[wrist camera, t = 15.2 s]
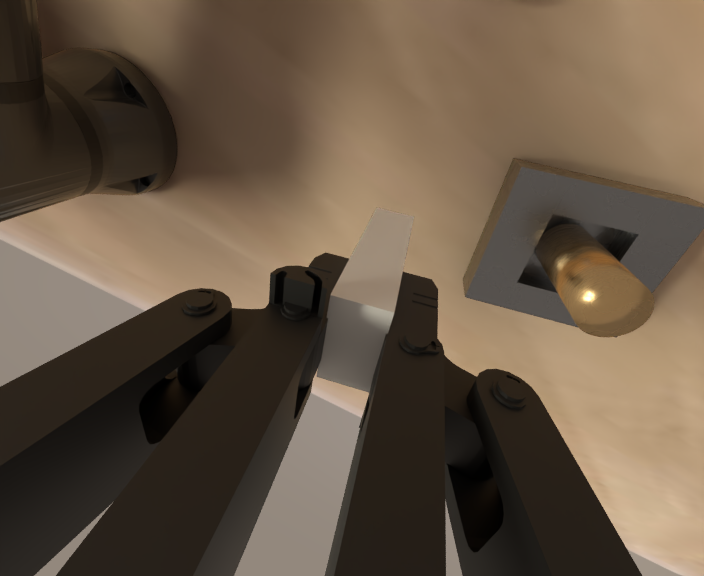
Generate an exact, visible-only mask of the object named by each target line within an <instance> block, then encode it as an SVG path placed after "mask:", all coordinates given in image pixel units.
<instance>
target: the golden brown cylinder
mask: <svg viewBox="0 0 704 576" xmlns="http://www.w3.org/2000/svg"><path fill="white" fill-rule="evenodd" d="M536 255H537V258H538V260H539V262H540V263H541V265H542V267H543V268H544V270H545V272H546V274H547V275H548V277H549V279H550V280H551V282H552V284H553V286H554V287H555V289H556V291H557V292H558V294H559V296H560V298H561V299H562V301H563V303H564V304H565V306H566V308H567V310H568V311H569V313H570V315H571V316H572V318H573V320H574V322H575V323H576V325H577V326H578V327H579V328H580V329H581V330H582V331H584V332H586V333H588V334H590V335H593V336H598V337H615V336H620V335H624V334H627V333H629V332H631V331H634V330H635V329H637V328H639V327H640V326H641V325H643V324H644V323H645V322H646V321H647V320H648V318H649V317H650V315H651V314H652V312H653V309H654V297H653V295H652V293H651V291H650V290H649V289H648V288H647V287H646V286H645V285H644V284H643V283H642V282H641V281H640V280H639V279H637V278H636V277H635V276H634V275H633V274H632V273H631V272H630V271H629V270H628V269H627V268H626V267H625V266H624V265H623V264H621V263H620V262H619V261H618V260H617V259H616V258H615V257H614V256H613V255H612V254H611V253H610V252H609V251H608V250H606V249H605V248H604V247H603V246H602V245H601V244H600V243H599V242H598V241H597V240H596V239H595V238H594V237H593V236H592V235H590V234H589V233H588V232H587V231H586V230H585V229H584V228H582V227H580V226H578V225H574V224H562V225H558V226H555V227H553V228H551V229H549V230H548V231H546V232H545V233H544V234H543V235H542V236H541V238H540V240H539V241H538V243H537V245H536Z"/></svg>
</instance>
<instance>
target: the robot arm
mask: <svg viewBox="0 0 704 576" xmlns="http://www.w3.org/2000/svg"><path fill="white" fill-rule="evenodd" d="M176 156H177V143H176V135H175V130H174V126H173V123H172V120H171V117H170V114H169V112H168V110H167V107H166V105H165V103H164V102H163V100H162V98H161V96H160V95H159V93H158V92H157V90H156V89H155V87H154V86H153V85H152V83H151V82H150V81H149V80H148V79H147V78H146V76H145V75H144V74H143V73H142V72H141V71H140V70H138V69H137V68H136V67H135V66H134V65H132V64H131V63H130V62H128V61H127V60H125V59H124V58H122V57H120V56H118V55H116V54H114V53H111V52H108V51H105V50H99V49H89V48H71V49H66V50H63V51H60V52H57V53H55V54H52V55H50V56H47V57H45V58H42V53H41V43H40V33H39V23H38V12H37V2H36V0H0V222H2V221H5V220H8V219H11V218H14V217H17V216H20V215H23V214H26V213H29V212H32V211H36V210H39V209H42V208H45V207H48V206H51V205H54V204H57V203H60V202H63V201H66V200H69V199H72V198H75V197H78V196H82V195H85V194H89V193H90V194H111V195H137V194H142V193H145V192H148V191H150V190H153V189H156V188H158V187H160V186H161V185H163V184H164V183H165V182H166V181H167V180H168V178H169V177H170V175H171V173H172V171H173V169H174V166H175V162H176ZM413 219H414V216H410V215H406V214H402V213H398V212H394V211H390V210H386V209H382V208H378V207H376V209H375V211H374V213H373V215H372V217H371V219H370V221H369V223H368V224H367V226H366V228H365V230H364V232H363V234H362V236H361V238H360V240H359V242H358V243H357V245H356V247H355V249H354V251H353V253H352V255H351V257H350V259H348V258H344V257H340V256H337V255H333V254H329V253H324V254H322V255H320V256H318V257H315V258H314V260H313V261H312V262H311V264H310V265H309V267H303V266H285V267H282V268H278V269H276V270H275V271H273V272H272V273H271V275H270V296H269V304H268V305H267V306H266V308H264V309H237V308H232V303H231V301H230V298H229V297H228V296H227V295H225V294H224V293H223V292H220V291H217V290H214V289H203V288H200V289H193V290H188V291H185V292H182V293H180V294H177V295H175V296H173V297H172V298H170V299H168V300H166V301H164V302H162V303H160V304H158V305H156V306H154V307H152V308H150V309H149V310H147V311H145V312H143V313H141V314H139V315H137V316H135V317H133V318H131V319H129V320H127V321H126V322H124V323H122V324H120V325H118V326H116V327H114V328H112V329H110V330H108V331H106V332H104V333H103V334H101V335H99V336H97V337H95V338H93V339H91V340H89V341H87V342H85V343H84V344H81V345H80V346H78V347H76V348H74V349H72V350H70V351H68V352H66V353H64V354H63V355H60V356H59V357H57V358H55V359H53V360H51V361H49V362H47V363H45V364H43V365H41V366H39V367H38V368H36V369H34V370H32V371H30V372H28V373H26V374H24V375H22V376H20V377H18V378H16V379H15V380H12V381H11V382H9V383H7V384H5V385H3V386H1V387H0V576H34V575H35V574H36V573H37V572H38V571H39V570H40V569H41V568H42V567H43V566H45V565H46V564H47V563H48V562H49V561H50V560H51V559H52V558H53V557H54V556H55V555H56V554H58V553H59V552H60V551H61V550H62V549H63V548H64V547H65V546H66V545H67V544H68V543H69V542H71V540H73V539H74V538H75V537H76V536H77V535H78V534H79V533H80V532H81V531H82V530H83V529H84V528H85V527H86V526H88V525H89V524H90V523H91V522H92V521H93V520H94V519H95V518H96V517H97V516H99V514H100V513H102V512H103V511H104V510H105V509H106V508H107V507H108V506H109V505H110V504H111V503H112V502H113V504H112V505H111V506H110V507H109V508H108V510H107V511H106V512H105V514H104V515H103V516H102V517H101V519H100V520H99V521H98V523H97V524H96V525H95V526H94V528H93V529H92V530H91V531H90V533H89V534H88V535H87V537H86V538H85V539H84V540H83V542H82V543H81V544H80V545H79V547H78V548H77V549H76V551H75V552H74V553H73V554H72V556H71V557H70V558H69V560H68V561H67V562H66V564H65V565H64V566H63V567H62V568H61V570H60V571H59V572H58V574H57V575H56V576H234V574H235V571H236V569H237V567H238V564H239V562H240V559H241V557H242V555H243V552H244V550H245V548H246V545H247V543H248V541H249V538H250V536H251V533H252V531H253V528H254V526H255V524H256V522H257V519H258V516H259V514H260V512H261V509H262V507H263V505H264V502H265V500H266V498H267V495H268V493H269V490H270V488H271V486H272V483H273V481H274V479H275V476H276V474H277V472H278V469H279V467H280V464H281V462H282V459H283V457H284V455H285V452H286V450H287V448H288V445H289V442H290V441H291V438H292V436H293V433H294V431H295V429H296V426H297V424H298V421H299V419H300V417H301V414H302V412H303V410H304V407H305V405H306V402H307V400H308V398H309V395H310V393H311V387H312V381H313V378H314V375H315V373H316V371H317V369H318V371H317V377H320V378H323V379H326V380H330V381H333V382H336V383H340V384H343V385H346V386H349V387H353V388H356V389H359V390H363V391H366V392H369V396H368V400H367V403H366V406H365V410H364V413H363V416H362V419H361V423H360V426H359V427H360V431H359V435H358V439H357V443H356V447H355V452H354V456H353V460H352V464H351V468H350V473H349V477H348V481H347V485H346V489H345V493H344V497H343V502H342V506H341V510H340V514H339V518H338V522H337V527H336V531H335V535H334V539H333V543H332V548H331V552H330V556H329V560H328V564H327V568H326V573H325V576H446V546H445V545H446V540H445V538H446V537H445V536H446V535H445V499H446V503H447V508H448V513H449V517H450V522H451V525H452V530H453V535H454V539H455V544H456V548H457V553H458V557H459V562H460V566H461V570H462V575H463V576H642V574H641V573H640V571H639V569H638V568H637V566H636V564H635V562H634V561H633V559H632V557H631V556H630V554H629V552H628V550H627V549H626V547H625V545H624V543H623V542H622V540H621V538H620V536H619V535H618V533H617V531H616V529H615V528H614V526H613V524H612V523H611V521H610V519H609V517H608V516H607V514H606V512H605V510H604V509H603V507H602V505H601V503H600V502H599V500H598V498H597V497H596V495H595V493H594V491H593V490H592V488H591V486H590V484H589V483H588V481H587V479H586V477H585V476H584V474H583V472H582V471H581V469H580V467H579V465H578V464H577V462H576V460H575V458H574V457H573V455H572V453H571V451H570V450H569V448H568V446H567V445H566V443H565V441H564V439H563V438H562V436H561V434H560V432H559V431H558V429H557V427H556V425H555V424H554V422H553V420H552V419H551V417H550V415H549V413H548V412H547V410H546V408H545V406H544V405H543V403H542V401H541V400H540V398H539V396H538V395H537V394H536V392H535V391H534V390H533V389H532V387H531V386H529V385H528V384H527V383H526V382H525V381H523V380H522V379H521V378H519V377H517V376H515V375H513V374H511V373H509V372H506V371H503V370H499V369H486V370H484V371H483V372H481V373H479V375H478V377H476V376H474V375H472V374H471V373H469V372H467V371H465V370H463V369H461V368H460V367H458V366H456V365H455V364H453V363H452V362H451V361H450V360H449V359H447V358H446V357H445V355H444V350H443V346H442V344H441V343H440V341H439V340H438V339H437V324H438V309H437V308H438V301H437V300H438V289H437V287H436V286H435V284H434V282H433V281H432V279H428V278H424V277H420V276H417V275H413V274H409V273H405V272H403V268H404V263H405V258H406V254H407V249H408V244H409V239H410V234H411V229H412V224H413Z"/></svg>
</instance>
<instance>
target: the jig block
mask: <svg viewBox="0 0 704 576" xmlns="http://www.w3.org/2000/svg"><path fill="white" fill-rule="evenodd" d="M562 224H574V225H578V226H580V227H582V228H584V229H585V230H586V231H587V232H588V233H589V234H590V235H592V236H593V237H594V238H595V239H596V240H597V241H598V242H599V243H600V244H601V245H602V246H603V247H604V248H605V249H606V250H608V251H609V252H610V253H611V254H612V255H613V256H614V257H615V258H616V259H617V260H618V261H619V262H620V263H621V264H623V265H624V266H625V267H626V268H627V269H628V270H629V271H630V272H631V273H632V274H633V275H634V276H635V277H636V278H637V279H639V280H640V281H641V282H642V283H643V284H644V285H645V286H646V287H647V288H648V289H649V290H650V291H651V293H652V292H653V291H654V290H655V289H656V287H657V286H658V285H659V284H660V282H661V281H662V280H663V279H664V277H665V276H666V275H667V274H668V272H669V271H670V270H671V269H672V268H673V266H674V265H675V264H676V263H677V261H678V260H679V259H680V258H681V256H682V255H683V254H684V253H685V251H686V250H687V249H688V248H689V246H690V245H691V244H692V243H693V241H694V240H695V239H696V238H697V236H698V235H699V234H700V233H701V231H702V230H703V229H704V205H703V204H701V203H699V202H697V201H694V200H692V199H690V198H688V197H683V196H679V195H674V194H670V193H665V192H661V191H657V190H652V189H648V188H643V187H639V186H634V185H630V184H625V183H621V182H616V181H612V180H608V179H603V178H599V177H594V176H590V175H585V174H581V173H576V172H572V171H567V170H563V169H559V168H554V167H550V166H545V165H541V164H536V163H532V162H527V161H523V160H518V159H514V158H513V161H512V163H511V166H510V168H509V170H508V173H507V175H506V177H505V180H504V182H503V185H502V187H501V189H500V192H499V194H498V197H497V199H496V201H495V204H494V206H493V209H492V211H491V213H490V216H489V218H488V221H487V223H486V225H485V228H484V230H483V233H482V235H481V237H480V240H479V242H478V245H477V247H476V249H475V252H474V254H473V257H472V259H471V261H470V264H469V266H468V268H467V271H466V273H465V276H464V278H463V284H464V293H465V297H467V298H470V299H474V300H478V301H482V302H485V303H489V304H493V305H497V306H500V307H504V308H508V309H511V310H515V311H519V312H523V313H526V314H530V315H534V316H538V317H541V318H545V319H549V320H553V321H556V322H560V323H564V324H568V325H571V326H575V327H578V326H577V325H576V323H575V322H574V320H573V318H572V316H571V315H570V313H569V311H568V310H567V308H566V306H565V304H564V303H563V301H562V299H561V298H560V296H559V294H558V292H557V291H556V289H555V287H554V286H553V284H552V282H551V280H550V279H549V277H548V275H547V274H546V272H545V270H544V268H543V267H542V265H541V263H540V262H539V260H538V258H537V255H536V245H537V243H538V241H539V240H540V238H541V236H542V235H543V234H544V233H545V232H546V231H548V230H549V229H551V228H553V227H555V226H558V225H562ZM615 337H617V336H615Z"/></svg>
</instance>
